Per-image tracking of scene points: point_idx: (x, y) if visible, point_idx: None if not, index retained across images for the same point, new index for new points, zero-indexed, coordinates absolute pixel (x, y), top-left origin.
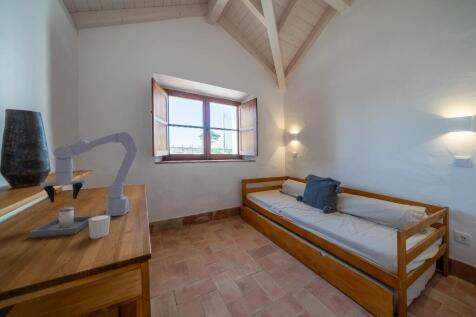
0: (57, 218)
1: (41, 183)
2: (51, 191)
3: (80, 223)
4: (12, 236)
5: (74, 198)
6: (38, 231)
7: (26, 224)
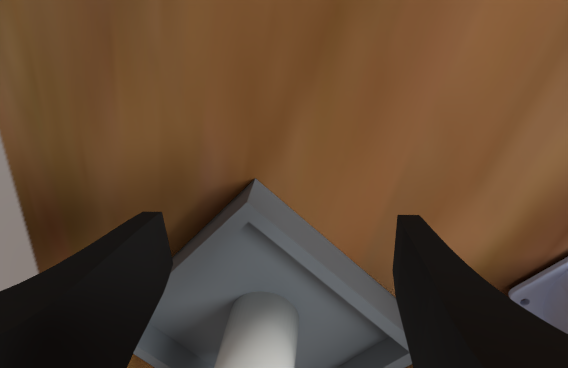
0: (237, 219)
1: None
2: None
3: (335, 326)
4: (48, 214)
5: (394, 265)
6: (138, 354)
7: (76, 4)
